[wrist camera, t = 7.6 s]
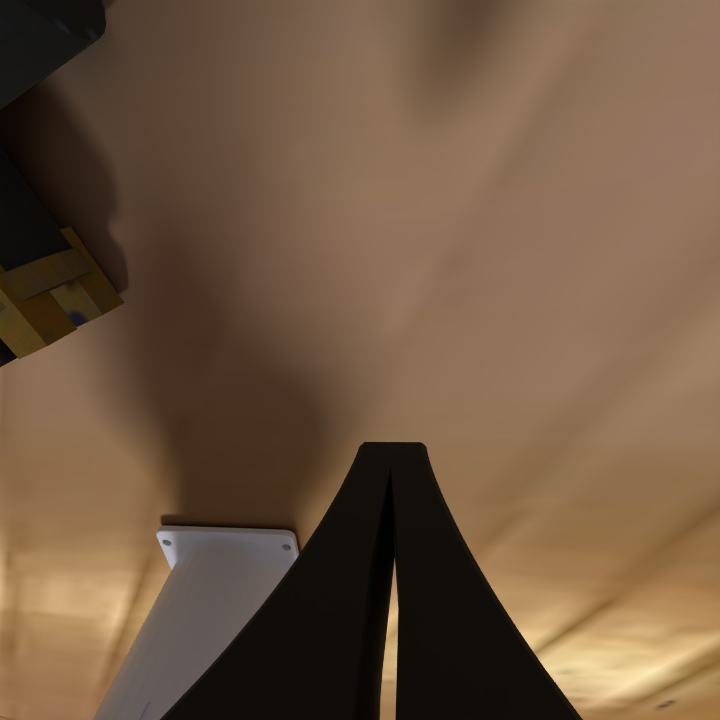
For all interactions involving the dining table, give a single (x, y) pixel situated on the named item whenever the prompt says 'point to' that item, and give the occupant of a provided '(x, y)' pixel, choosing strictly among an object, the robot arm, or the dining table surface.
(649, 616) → the dining table surface
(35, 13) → the pipe connector
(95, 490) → the dining table surface
